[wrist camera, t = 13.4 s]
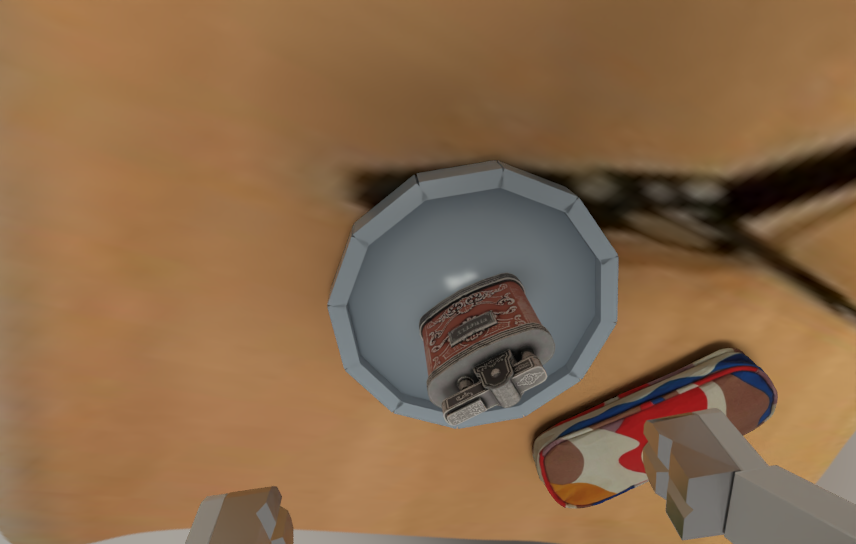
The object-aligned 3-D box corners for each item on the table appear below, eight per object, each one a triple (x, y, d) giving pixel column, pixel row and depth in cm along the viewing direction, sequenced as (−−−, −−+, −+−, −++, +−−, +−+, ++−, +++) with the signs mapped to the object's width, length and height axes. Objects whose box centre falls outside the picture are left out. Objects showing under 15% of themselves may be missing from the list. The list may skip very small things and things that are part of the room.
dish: (606, 141, 33) (620, 148, 31) (604, 383, 42) (615, 401, 40) (303, 192, 33) (299, 202, 31) (365, 425, 41) (364, 445, 39)
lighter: (510, 262, 35) (556, 342, 26) (530, 299, 36) (580, 387, 27) (409, 316, 36) (419, 410, 27) (432, 349, 37) (449, 450, 28)
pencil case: (517, 387, 41) (534, 430, 37) (751, 329, 41) (798, 365, 36) (535, 480, 46) (552, 528, 42) (746, 429, 46) (786, 472, 41)
